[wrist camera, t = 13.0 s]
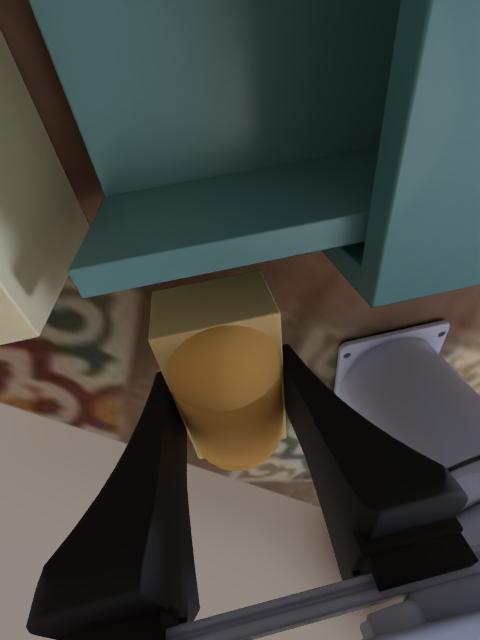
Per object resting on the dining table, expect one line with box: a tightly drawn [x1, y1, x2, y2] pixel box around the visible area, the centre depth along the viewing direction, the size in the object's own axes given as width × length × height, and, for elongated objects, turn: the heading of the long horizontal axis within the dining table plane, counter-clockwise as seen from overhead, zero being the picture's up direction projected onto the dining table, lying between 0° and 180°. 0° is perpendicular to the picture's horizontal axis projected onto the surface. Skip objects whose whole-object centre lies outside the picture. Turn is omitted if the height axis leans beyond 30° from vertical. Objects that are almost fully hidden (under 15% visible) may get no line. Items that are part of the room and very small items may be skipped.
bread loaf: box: [148, 270, 287, 471], centre depth 12 cm, size 8×4×4 cm, turn 7°
